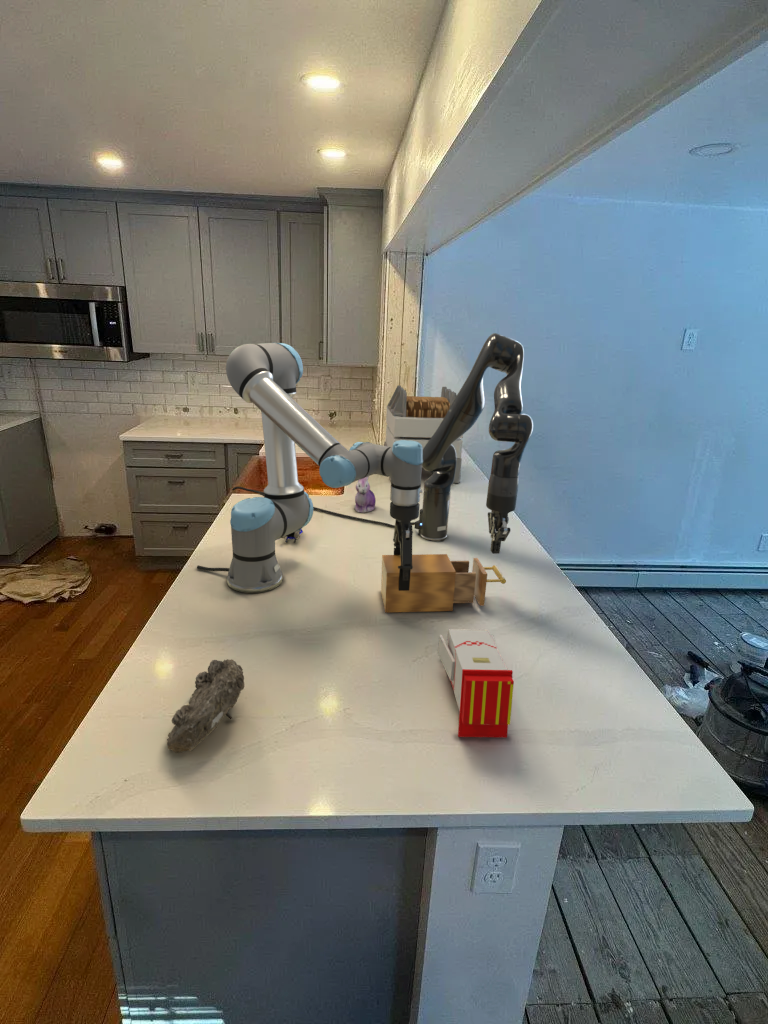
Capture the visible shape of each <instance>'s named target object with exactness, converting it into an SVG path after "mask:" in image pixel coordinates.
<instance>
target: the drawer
mask: <svg viewBox="0 0 768 1024" xmlns="http://www.w3.org/2000/svg"><path fill="white" fill-rule="evenodd" d="M450 561H451V563H452V565H453V567H454V569H455V571H456V576H455V588H454V600H453V604H474V600H475V599H476V601H477V603H478V606H480V607H484V606H485V600H486V591H487V584H488V583H501V584H502V585H504V584H505V583H507V579H506V578H505V576H504V575H503V573H502V572H501V571H500V569H499V567H498V566H497V565H496V564H494V565H492V566H483V564H482V563H481V561H480V559H479V558H478V557H473V559H472V569H471V572H469V571H470V570H469V569H470V560H450ZM489 570H491V571H493V573H494V574H495V576H496V577H497V578H491V579H488V572H487V571H489Z"/></svg>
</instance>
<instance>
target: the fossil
mask: <svg viewBox="0 0 768 1024" xmlns="http://www.w3.org/2000/svg"><path fill="white" fill-rule="evenodd" d="M243 670H244V669H243V667H242V665H240V664H237V662H236V661H235V660H234V659H232V658H231V659H227V658H226V659H224V660H223V661H222V660H217V659H212V660H211V661H210V663H209V665H208V666H207V671H201V672H199V673H198V674H197V675H196V676H195V680H194V684H195V685H194V687H195V689H194V690H193V693H192V694H191V697H190V698H189V700H188V704H184V705H182V706H181V707H180V709H177V710H176V711H175V713H174V715H173V716H172V718H171V723H172V724H173V727H172V730H171V731H170V732H168V734H167V738H166V741H167V742H166V745H167V749H168V750H169V751H173V752H174V753H176V754H178V753H182V752H188V751H189V752H192V751H193V750H195V748H196V747H197V746H199V744H200V743H201V742H203V741H204V740H205V739H206V738H207V737H208V736H209V735H210V734H211V733H212V732H214V730H215V729H217V727H218V726H219V724H220V722H221V721H222V720H223V719H224V718H225V716H226V717H227V719H229V720H233V717H232V715H230V714H229V710H230V709H231V708H234V706H235V704H236V703H237V702H238V699H239V697H240V695H241V693H242V691H243V690H245V689H244V688H245V675H244V671H243Z"/></svg>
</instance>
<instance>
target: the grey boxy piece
mask: <svg viewBox="0 0 768 1024" xmlns="http://www.w3.org/2000/svg"><path fill="white" fill-rule="evenodd" d="M440 393H441V394H440V396H415V395H414V396H413V395H412V396H411V395H407V394H408V393H407V390H406V389H404V388H403V387H402V385H399V384H398V385H397V386H396V388H395V390H394V392H393V394H392V395H391V398H390V400H389V402H388V404H387V405H386V413H385V414H386V415H385V423H386V428H385V438H384V442H383V446H388V447H393V443H394V442H396V441H399V440H408V441H409V440H411V441H416V442H419V443H420V444H421V445H422V448H424V447H425V445H426V444H427V443H428V441H429V440H430V439H431V437H432V436H433V435H434V433H435V432H436V430H437V429H438V427H439V425H440V424H441V422H442V420H443V419H444V417H445V415H446V414H447V412H448V410H449V408H450V406H451V404H452V403H453V401H454V399H455V397H456V396H457V392H455V391H453V390H452V389H451V388H447V386H442V387H441V392H440ZM463 438H464V434H463V435H462V436H460V437H459V438H458V439H457V440H455V441H454V442H453V443H452V445H453V446H454V448H455V450H456V455H457V461H456V469H455V476H454V482H453V484H455V483H456V484H459V483H461V472H462V461H463V460H462V453H463V442H464V441H463V440H462V439H463ZM388 478H389V480H390V481H391V477H388Z"/></svg>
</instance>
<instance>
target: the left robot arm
mask: <svg viewBox="0 0 768 1024" xmlns="http://www.w3.org/2000/svg"><path fill="white" fill-rule="evenodd" d="M225 363H226V364H225V373H226V374H225V375H226V377H227V380H228V383H229V384H230V386H231V388H232V389H233V390H234V392H235V393H236V394H237V395H238V396H239V397H240V398H241V399H242V400H243V401H244V402H246V403H247V404H253V405H254V406H255V407H256V408H258V409H259V411H260V413H261V422H262V433H263V442H264V443H263V444H264V454H265V464H266V475H267V485H266V486H265V488H263V492H264V495H263V496H254V497H251V498H250V497H248V498H244V499H242V500H239V501H238V502H236V503H235V504H234V505H232V507H231V510H230V520H229V523H230V532H231V533H230V534H231V546H232V547H231V548H232V557H231V559H232V560H231V562H230V565H229V567H207V566H202V565H197V566H196V569H197V570H201V571H205V572H227V577H226V580H227V581H226V582H227V583H226V584H227V585H228V587H229V588H230V589H232V590H234V591H236V592H239V593H245V594H259V593H265V592H269V591H271V590H273V589H276V588H277V587H279V586H280V585H281V584H282V582H283V571H282V569H281V566H280V563H279V561H278V558H277V556H276V541H278V540H280V539H283V538H282V537H284V536H286V535H288V534H291V533H293V532H296V531H299V530H300V529H302V530H303V528H305V527H306V526H308V524H309V523H310V522H311V520H312V518H313V515H314V509H313V507H314V504H313V501H312V498H310V495H309V494H308V492H306V491H305V487H304V486H303V484H301V483H300V482H299V476H298V464H297V451H296V450H297V449H296V446H298V448H299V449H301V450H302V452H304V453H305V454H306V455H307V456H308V457H309V458H310V459H311V460H312V462H314V463H315V464H316V465H317V466H318V467H319V468H318V469H319V472H318V473H319V476H320V477H321V481H322V483H324V485H326V486H327V487H329V488H332V489H338V488H339V489H340V488H342V487H347V486H349V485H352V484H353V483H355V482H358V480H360V479H363V478H365V477H368V476H369V477H370V476H372V475H376V476H377V475H378V476H381V477H382V476H383V477H388V478H389V477H391V480H390V495H389V500H390V503H389V516H390V518H392V519H394V520H395V521H394V525H395V528H394V531H393V538H392V541H393V547H394V548H393V555H400V558H401V565H400V566H398V569H400V570H399V591H409V587H410V570H411V569H412V568H413V566H412V555H413V534H414V530H413V525H411V522H413V521H415V520H418V519H419V515H420V500H421V494H423V492H424V490H423V489H422V488H421V487H422V471H423V467H422V464H423V448H422V445H421V444H420V443H419V442H416V441H411V440H409V441H408V440H399V441H396V442H394V443H393V447H388V446H384V444H382V445H381V444H378V443H377V444H376V443H372V442H369V441H365V442H364V441H356V442H354V443H353V444H352V446H350V448H349V449H347V448H346V447H345V446H344V445H343V444H341V442H339V440H337V438H335V437H334V436H333V435H332V434H331V433H330V432H329V431H328V430H327V429H325V428H324V427H323V426H322V425H321V424H320V423H319V422H318V421H317V420H316V419H315V418H314V417H313V416H312V415H311V414H309V412H307V411H306V410H305V409H304V408H303V407H302V405H300V404H299V403H298V402H296V400H295V399H293V398H294V397H295V395H296V394H297V384H298V383H299V382H300V381H301V378H302V377H303V373H304V365H303V361H302V358H301V356H300V354H299V352H298V351H297V350H296V349H295V348H294V347H293V346H291V345H290V344H287V343H284V342H275V341H273V342H266V343H265V342H263V343H244V344H241V345H239V346H237V347H235V348H234V349H233V350H232V351H231V352H230V354H229V355H228V357H227V359H226V362H225ZM369 477H368V478H369Z"/></svg>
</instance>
